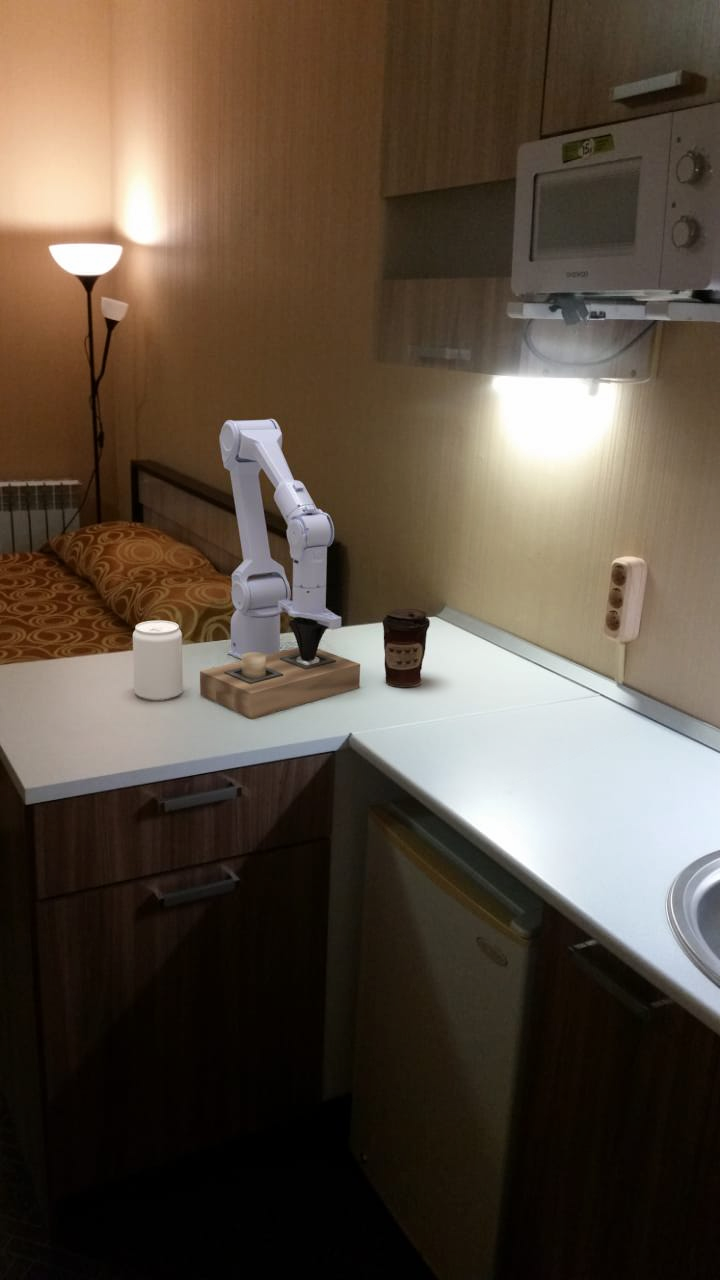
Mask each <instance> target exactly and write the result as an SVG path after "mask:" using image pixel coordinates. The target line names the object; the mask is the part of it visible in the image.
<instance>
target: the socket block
mask: <svg viewBox="0 0 720 1280" xmlns="http://www.w3.org/2000/svg"><path fill="white" fill-rule="evenodd" d="M298 657H300V652H299V648H298V646H297V647H292V648H289V649H284V650H280V652H276V653H272V654H268V655H266V676H264V677H260V678H256V679H252V680H251V679H248V678H246V677H243V676H242V660H240V661H235V662H231V663H227V664H223V665H219V666H215V667H211V668H206V669H203V670H202V669H201V670H200V671H199V686H200V687H199V692H200V693H199V696H200V695H201V696H200V697H202V696H203V698H204V699H207V700H209V701H212V702H213V703H216V704H218V705H220V706H222V707H224V708H226V709H228V710H230V711H233V712H235V713H237V714H239V715H242V716H243V717H246V718H248V719H251V720H253V719H257V718H261V717H263V716H266V715H269V714H273V713H277V712H280V711H283V710H288V709H291V708H295V707H297V706H301V705H304V704H307V703H312V702H315V701H319V700H322V699H325V698H329V697H332V696H336V695H338V694H342V693H346V692H350V691H352V690H356V689H359V688H360V683H361V681H360V680H361V679H360V678H361V677H360V675H361V664H360V663H358V662H356V661H353V660H350V659H349V658H345V657H341V656H339V655H337V654H335V653H332V652H330V651H329V652H328V651H326V650H322V649H321V648H318V649H317V652H316V656H315V657H318V658H319V662H318V663H314V664H310V665H304V664H301V663H299V662H297V658H298Z"/></svg>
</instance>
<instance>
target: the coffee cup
mask: <svg viewBox="0 0 720 1280" xmlns="http://www.w3.org/2000/svg"><path fill="white" fill-rule="evenodd" d="M430 624H431V622H430V619H429V618H428V617H427V612H426V611H423V610H420V609H417V608H415V609H414V608H403V609H402V608H401V609H400V608H397V609H394V610H389V611H387V612H386V615H385V617H384V618H383V619H382V627H383V651H384V671H385V683H386V684H388V685H390V686H393V687H398V688H399V687H400V688H409V687H411V688H412V687H416V686H419V685H421V684H422V677H421V676H422V675H421V672H422V670H423V669H422V668H423V661H424V657H425V652H426V644H427V635H428V633H427V632H428V629H429V627H430V626H431V625H430Z"/></svg>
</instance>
